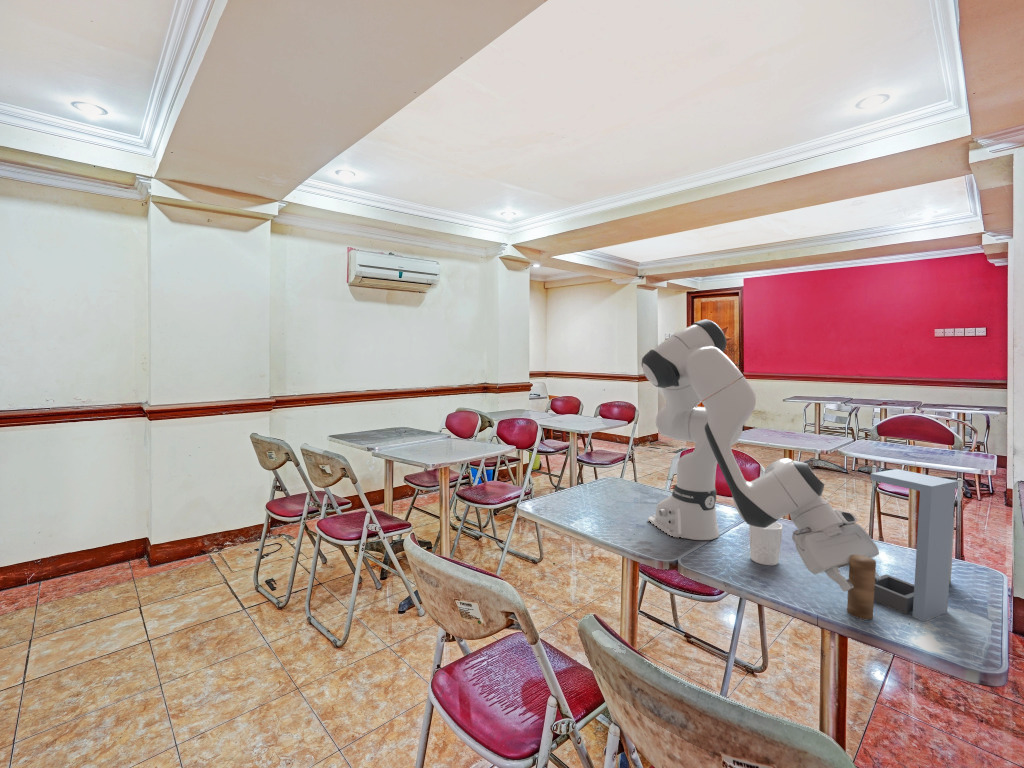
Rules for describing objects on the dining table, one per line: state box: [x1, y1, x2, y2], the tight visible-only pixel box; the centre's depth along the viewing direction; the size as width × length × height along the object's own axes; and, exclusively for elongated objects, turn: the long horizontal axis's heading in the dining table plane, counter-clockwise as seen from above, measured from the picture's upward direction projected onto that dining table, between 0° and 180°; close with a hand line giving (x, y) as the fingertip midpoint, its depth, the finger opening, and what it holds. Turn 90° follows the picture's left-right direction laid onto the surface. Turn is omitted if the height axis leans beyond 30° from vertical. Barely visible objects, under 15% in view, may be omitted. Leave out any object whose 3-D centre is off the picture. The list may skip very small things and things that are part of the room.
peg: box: [846, 555, 877, 620], centre depth 103 cm, size 4×4×12 cm
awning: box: [870, 468, 959, 622], centre depth 107 cm, size 12×10×28 cm
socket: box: [874, 573, 915, 615], centre depth 109 cm, size 8×8×4 cm
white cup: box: [748, 521, 784, 566], centre depth 130 cm, size 8×8×10 cm
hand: (863, 585), depth 103 cm, fingers open, 8 cm apart
